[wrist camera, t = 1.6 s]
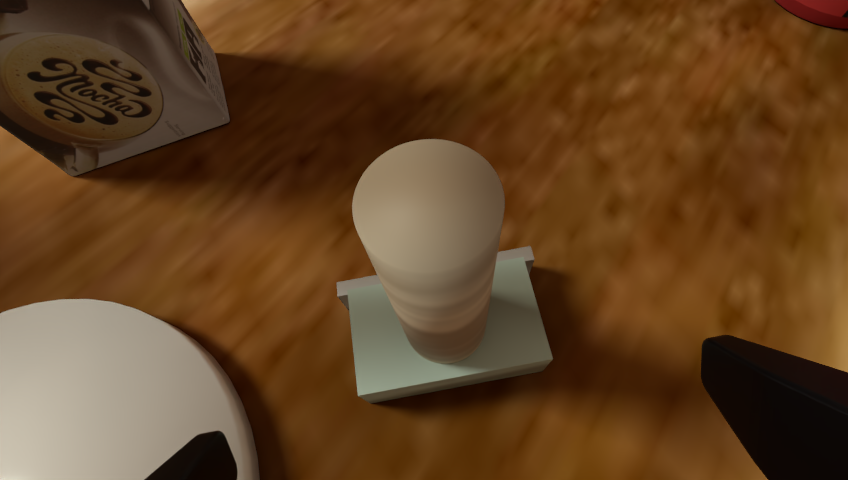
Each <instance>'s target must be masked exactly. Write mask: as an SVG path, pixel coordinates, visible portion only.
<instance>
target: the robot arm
mask: <svg viewBox="0 0 848 480" xmlns="http://www.w3.org/2000/svg"><path fill="white" fill-rule="evenodd" d="M701 379H702V383H703V385H704V388H705V389H706V391H707V392H708V394H709V395H710V397H711V398H712V400H713V401H714V403H715V404H716V406H717V407H718V409H719V410H720V412H721V413H722V415H723V416H724V418H725V419H726V421H727V422H728V424H729V425H730V427H731V428H732V430H733V431H734V433H735V434H736V436H737V437H738V439H739V440H740V442H741V443H742V445H743V446H744V448H745V449H746V451H747V452H748V454H749V455H750V456H751V458H752V459H753V461H754V462H755V463H756V465H757V466H758V467H759V469H760V470H761V471H762V472H763V474H764V475H765V476H766V477H767V479H768V480H848V372H844V371H841V370H838V369H835V368H832V367H829V366H825V365H822V364H819V363H816V362H813V361H810V360H806V359H803V358H800V357H797V356H794V355H791V354H787V353H784V352H781V351H778V350H775V349H772V348H768V347H765V346H762V345H759V344H756V343H753V342H750V341H746V340H743V339H740V338H737V337H734V336H730V335H722V336H716V337H711V338H707V339H705V340H704V341H703V344H702V358H701ZM237 474H238V471H237V464H236V461H235V459H234V456H233V454H232V451H231V449H230V446H229V444H228V441H227V439H226V437H225V435H224V433H223V432H221V431H218V430H217V431H211V432H206V433H201V434H198V435H196V436H195V437H194V438H193V439H192V440H190V441H189V442H188V443H187V444H186V445H184V446H183V447H182V448H181V449H180V450H179V451H177V452H176V453H175V454H174V455H173V456H171V457H170V458H169V459H168V460H167V461H166V462H164V463H163V464H162V465H161V466H160V467H158V468H157V469H156V470H155V471H154V472H153V473H151V474H150V475H149V476H148V477H147V478H145V479H144V480H237Z"/></svg>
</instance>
